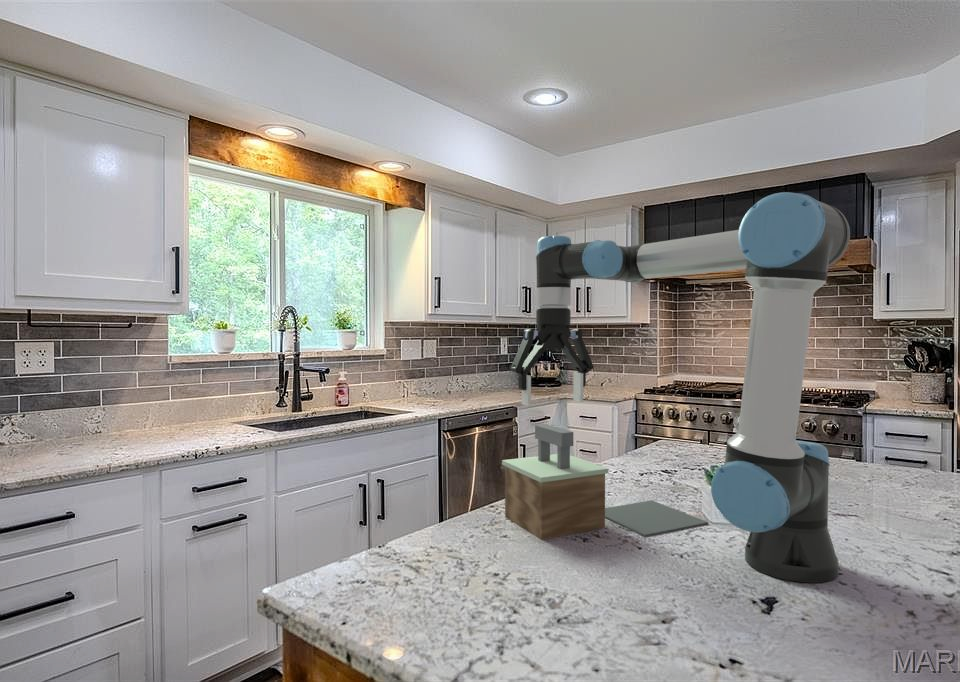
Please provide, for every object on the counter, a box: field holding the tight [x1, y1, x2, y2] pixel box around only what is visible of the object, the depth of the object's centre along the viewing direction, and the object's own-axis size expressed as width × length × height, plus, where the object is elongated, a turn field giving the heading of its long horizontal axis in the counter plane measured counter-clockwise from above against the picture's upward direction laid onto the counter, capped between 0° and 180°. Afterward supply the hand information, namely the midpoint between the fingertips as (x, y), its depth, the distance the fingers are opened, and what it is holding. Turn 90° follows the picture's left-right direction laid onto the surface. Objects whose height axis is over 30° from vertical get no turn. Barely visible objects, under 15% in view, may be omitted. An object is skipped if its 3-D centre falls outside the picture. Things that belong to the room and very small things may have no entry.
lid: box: [501, 423, 609, 482], centre depth 132 cm, size 17×17×9 cm
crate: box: [504, 466, 606, 540], centre depth 132 cm, size 16×16×12 cm
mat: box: [605, 500, 709, 538], centre depth 135 cm, size 18×18×1 cm
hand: (552, 403), depth 132 cm, fingers open, 13 cm apart
